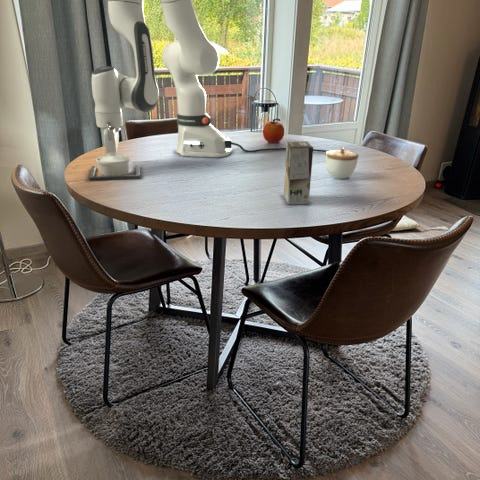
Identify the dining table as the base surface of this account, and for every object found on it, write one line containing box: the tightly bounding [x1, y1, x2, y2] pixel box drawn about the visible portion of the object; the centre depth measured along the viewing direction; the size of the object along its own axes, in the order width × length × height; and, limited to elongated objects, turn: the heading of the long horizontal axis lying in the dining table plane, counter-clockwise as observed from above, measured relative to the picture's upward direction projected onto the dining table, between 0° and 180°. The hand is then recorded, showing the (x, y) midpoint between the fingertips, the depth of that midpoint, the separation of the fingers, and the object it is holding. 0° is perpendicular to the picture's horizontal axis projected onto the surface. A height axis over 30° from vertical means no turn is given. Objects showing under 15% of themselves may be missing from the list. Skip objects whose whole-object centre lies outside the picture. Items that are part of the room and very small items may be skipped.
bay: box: [88, 164, 141, 182], centre depth 170 cm, size 15×16×1 cm
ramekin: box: [95, 154, 131, 176], centre depth 169 cm, size 11×11×5 cm
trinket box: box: [325, 147, 359, 180], centre depth 168 cm, size 11×11×9 cm
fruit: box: [262, 117, 285, 144], centre depth 216 cm, size 10×10×10 cm
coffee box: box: [283, 140, 314, 205], centre depth 144 cm, size 9×6×16 cm
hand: (114, 162), depth 175 cm, fingers closed
